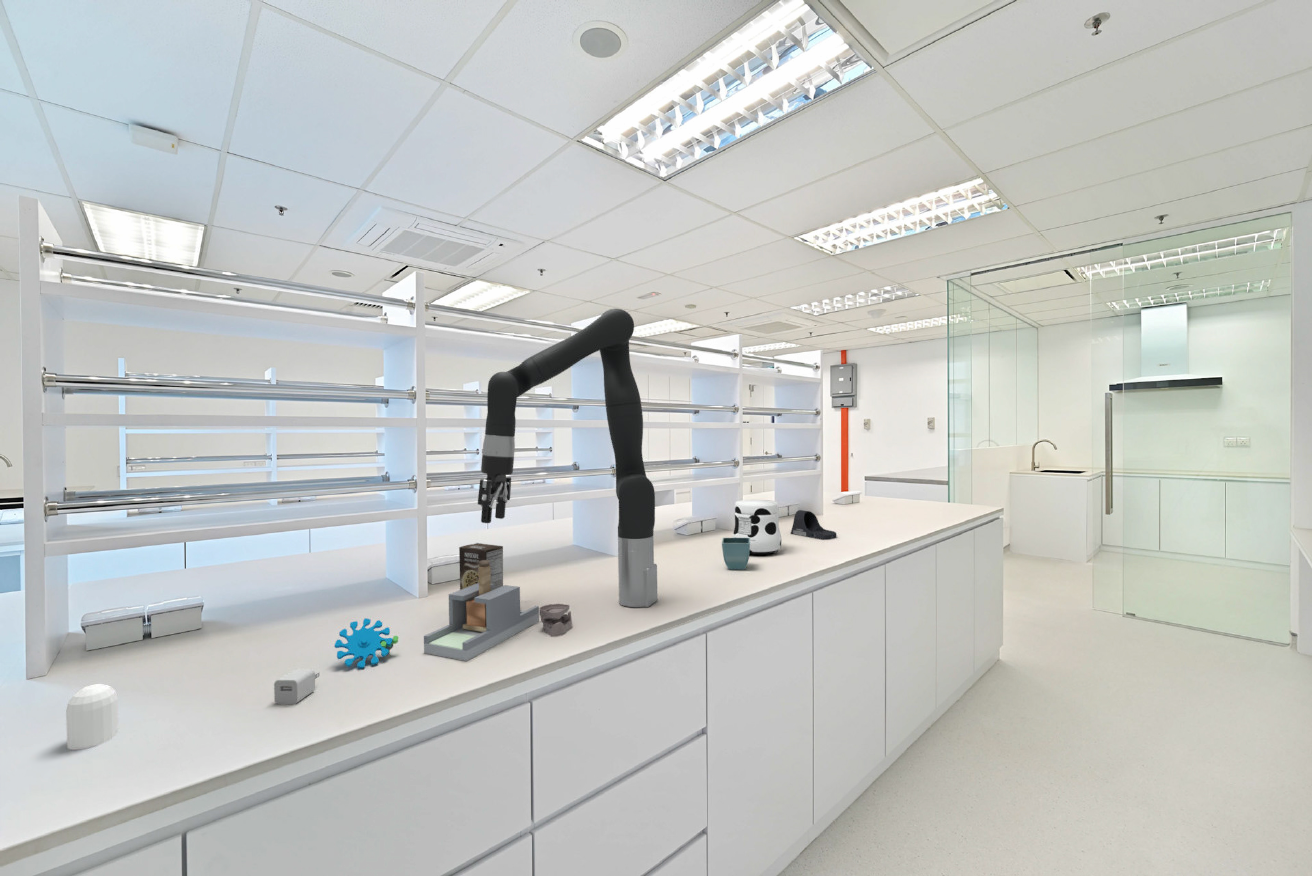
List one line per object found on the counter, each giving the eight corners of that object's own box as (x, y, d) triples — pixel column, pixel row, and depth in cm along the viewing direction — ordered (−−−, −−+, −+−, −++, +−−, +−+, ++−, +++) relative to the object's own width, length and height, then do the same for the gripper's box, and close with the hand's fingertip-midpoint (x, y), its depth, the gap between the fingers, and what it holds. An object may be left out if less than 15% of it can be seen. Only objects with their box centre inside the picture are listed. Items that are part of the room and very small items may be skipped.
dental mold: (554, 621, 129) (553, 600, 129) (578, 626, 126) (578, 604, 126) (532, 633, 122) (531, 611, 122) (557, 638, 119) (557, 615, 119)
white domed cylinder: (59, 745, 80) (57, 690, 80) (106, 727, 85) (104, 675, 85) (79, 752, 78) (78, 696, 78) (126, 733, 83) (125, 680, 83)
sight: (825, 540, 218) (824, 515, 218) (789, 534, 233) (789, 510, 233) (839, 538, 223) (839, 513, 223) (804, 531, 238) (803, 508, 238)
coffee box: (459, 611, 138) (457, 546, 138) (478, 604, 144) (477, 542, 144) (486, 616, 134) (484, 550, 134) (504, 608, 140) (503, 544, 139)
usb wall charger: (274, 704, 92) (274, 680, 92) (303, 684, 99) (302, 662, 99) (297, 704, 92) (297, 680, 92) (324, 685, 98) (324, 662, 98)
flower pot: (721, 571, 173) (721, 542, 173) (723, 564, 182) (722, 537, 182) (750, 572, 172) (750, 543, 171) (750, 565, 180) (749, 537, 180)
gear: (330, 667, 102) (339, 617, 109) (329, 681, 106) (338, 631, 112) (396, 663, 107) (400, 615, 113) (393, 677, 110) (397, 630, 117)
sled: (507, 621, 123) (506, 558, 123) (486, 632, 116) (485, 566, 116) (484, 618, 125) (483, 556, 125) (462, 628, 119) (461, 563, 119)
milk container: (778, 547, 207) (777, 499, 207) (784, 557, 190) (784, 505, 190) (731, 546, 209) (731, 499, 208) (733, 557, 191) (733, 505, 191)
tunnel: (539, 621, 130) (538, 578, 130) (466, 661, 108) (465, 610, 107) (501, 615, 134) (500, 574, 134) (424, 653, 112) (423, 603, 112)
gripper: (502, 456, 128) (496, 526, 128) (523, 455, 142) (518, 518, 142) (470, 453, 128) (465, 523, 128) (495, 452, 143) (490, 515, 142)
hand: (493, 520), depth 135 cm, fingers open, 8 cm apart
